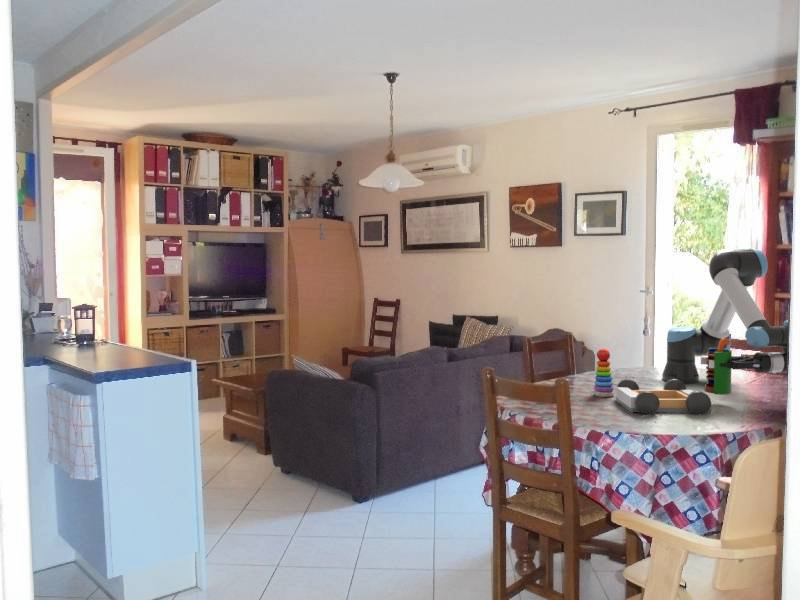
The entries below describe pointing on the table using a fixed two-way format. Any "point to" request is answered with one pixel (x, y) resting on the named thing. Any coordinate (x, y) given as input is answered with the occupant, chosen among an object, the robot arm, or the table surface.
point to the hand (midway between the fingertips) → (705, 362)
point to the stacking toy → (603, 375)
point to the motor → (719, 369)
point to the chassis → (662, 398)
